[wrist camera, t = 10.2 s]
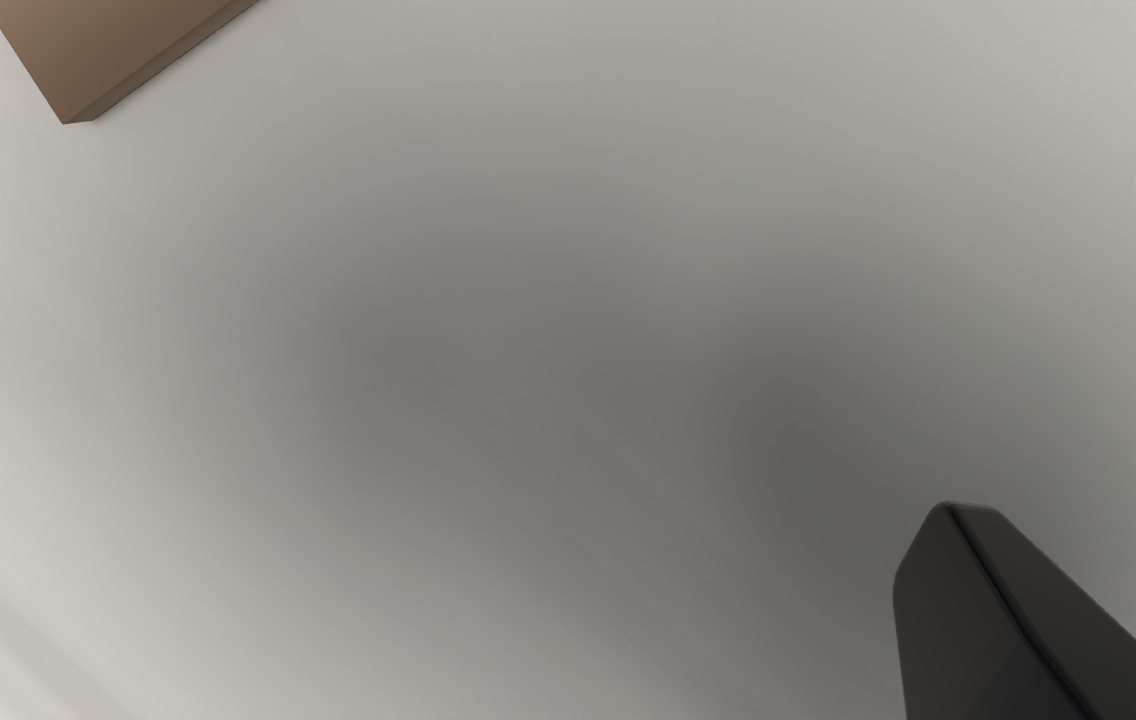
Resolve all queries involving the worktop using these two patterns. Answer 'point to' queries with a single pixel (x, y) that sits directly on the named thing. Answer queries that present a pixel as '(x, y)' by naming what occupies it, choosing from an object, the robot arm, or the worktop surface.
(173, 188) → the worktop surface
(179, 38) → the walnut coaster board
